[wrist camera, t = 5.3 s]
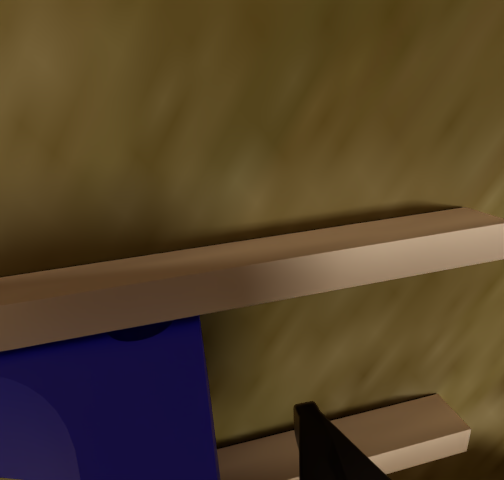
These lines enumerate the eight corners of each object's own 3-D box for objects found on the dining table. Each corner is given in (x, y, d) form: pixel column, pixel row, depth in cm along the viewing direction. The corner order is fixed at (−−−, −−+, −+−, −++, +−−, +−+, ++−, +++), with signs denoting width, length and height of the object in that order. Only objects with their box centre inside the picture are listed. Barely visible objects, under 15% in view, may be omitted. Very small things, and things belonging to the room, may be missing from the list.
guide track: (433, 424, 13) (504, 509, 10) (-310, 623, 9) (-526, 846, 6) (467, 190, 10) (586, 219, 7) (-657, 349, 6) (-1405, 557, 3)
